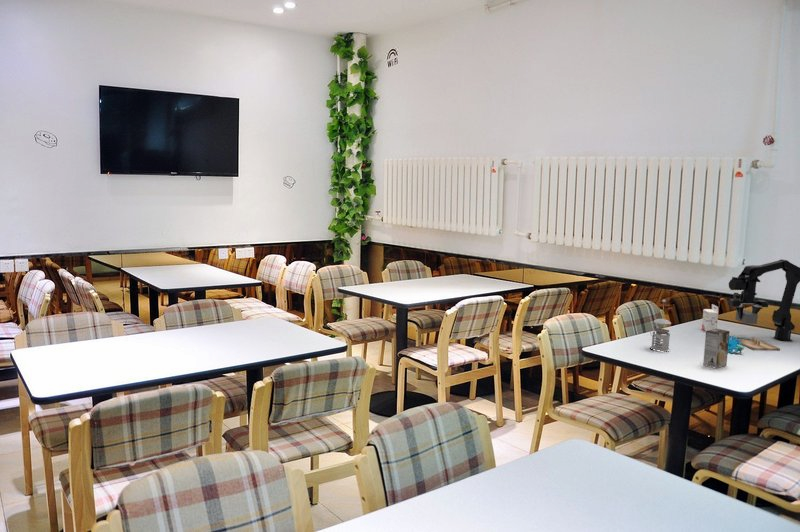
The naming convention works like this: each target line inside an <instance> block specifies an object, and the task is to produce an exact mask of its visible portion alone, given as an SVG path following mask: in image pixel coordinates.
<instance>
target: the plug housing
mask: <svg viewBox="0 0 800 532" xmlns="http://www.w3.org/2000/svg"><path fill="white" fill-rule="evenodd" d="M735 311H736V312H735V320H736V321H739V322H741V323H743V324H748V325H757V324H758V317H759V315H758V313H757V314H755V313H753V312H752V311H749V310H744V309H743V314H742V318H741V319H739V315H738V312H737V309H736V310H735Z"/></svg>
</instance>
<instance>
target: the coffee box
mask: <svg viewBox="0 0 800 532" xmlns="http://www.w3.org/2000/svg"><path fill="white" fill-rule="evenodd" d="M729 336H730V331H729V330H725V329H720V328H717V329H712V330H708V331H705V340H704V350H703V351H704V352H703V360H702V361H703V363H702V365H703V366H705V365H707V366H706V367H708V366H711V367H710V368H712V367H715V368H714V369H719V368H723V367H725V366H727V364H728V352H729V351H728V343H729ZM718 367H719V368H718Z"/></svg>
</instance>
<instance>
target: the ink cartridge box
mask: <svg viewBox="0 0 800 532" xmlns="http://www.w3.org/2000/svg"><path fill="white" fill-rule="evenodd" d="M702 311H703V312H702V322H701V330H702V331H703V332H704V331H705V332H706V331H708V330H712V329H718V319H719V306H717V305H715V304H713V303H712V304H711V309H710V308H704V309H703V310H702Z"/></svg>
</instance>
